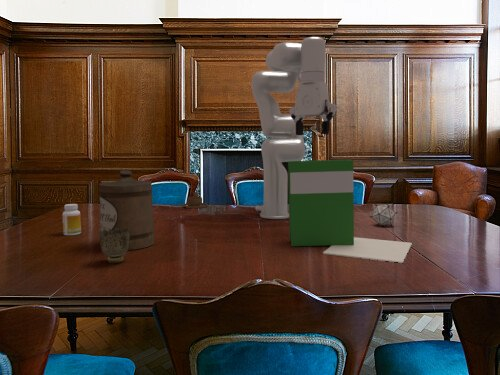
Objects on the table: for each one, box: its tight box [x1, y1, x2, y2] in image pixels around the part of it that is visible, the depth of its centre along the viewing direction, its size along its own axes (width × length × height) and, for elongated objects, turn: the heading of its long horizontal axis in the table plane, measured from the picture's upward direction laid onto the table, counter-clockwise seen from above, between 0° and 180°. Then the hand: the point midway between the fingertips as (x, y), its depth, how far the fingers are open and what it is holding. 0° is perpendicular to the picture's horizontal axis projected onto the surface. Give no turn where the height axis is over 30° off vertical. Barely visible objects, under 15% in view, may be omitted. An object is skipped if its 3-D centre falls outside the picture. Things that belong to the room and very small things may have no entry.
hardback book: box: [287, 159, 355, 247], centre depth 119 cm, size 18×7×24 cm, turn 89°
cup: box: [98, 228, 130, 264], centre depth 102 cm, size 8×7×8 cm
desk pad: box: [322, 236, 413, 264], centre depth 114 cm, size 20×22×1 cm
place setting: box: [181, 191, 214, 209], centre depth 197 cm, size 18×20×6 cm
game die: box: [369, 202, 399, 227], centre depth 147 cm, size 9×8×10 cm
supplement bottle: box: [62, 203, 82, 236], centre depth 134 cm, size 5×5×10 cm
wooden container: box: [98, 168, 155, 251], centre depth 119 cm, size 15×15×22 cm
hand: (312, 134), depth 130 cm, fingers open, 9 cm apart
